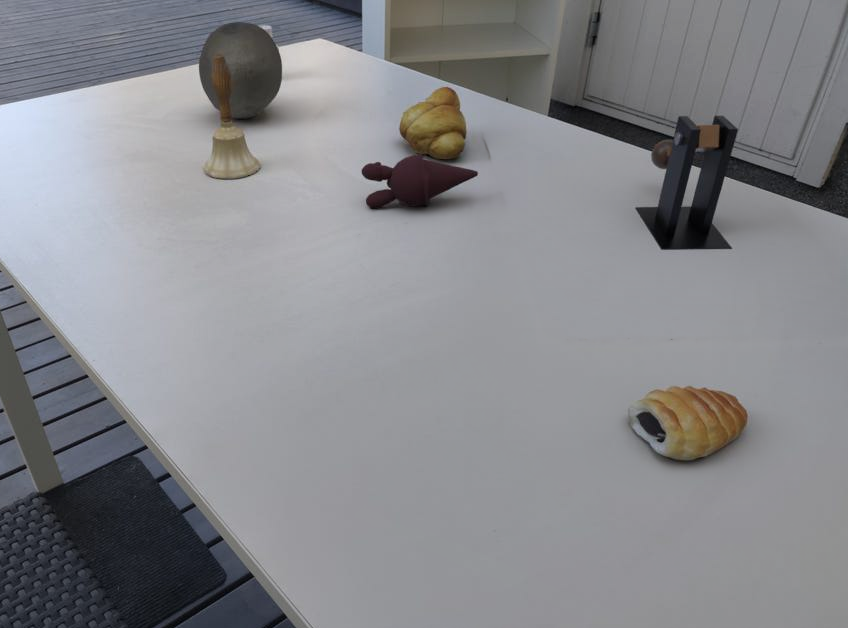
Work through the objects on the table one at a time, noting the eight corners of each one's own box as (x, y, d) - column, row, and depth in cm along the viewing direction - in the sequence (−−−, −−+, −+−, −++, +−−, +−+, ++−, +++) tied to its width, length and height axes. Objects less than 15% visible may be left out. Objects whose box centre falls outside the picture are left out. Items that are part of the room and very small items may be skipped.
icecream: (471, 142, 98) (359, 156, 99) (481, 148, 92) (360, 164, 92) (474, 194, 101) (365, 208, 101) (484, 204, 94) (367, 219, 95)
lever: (646, 171, 96) (647, 142, 95) (674, 170, 96) (675, 142, 95) (692, 153, 82) (693, 119, 81) (725, 152, 81) (726, 118, 81)
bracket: (633, 215, 94) (656, 106, 86) (696, 214, 94) (726, 105, 86) (659, 258, 86) (687, 141, 77) (729, 257, 85) (765, 140, 77)
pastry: (708, 394, 66) (720, 360, 64) (764, 444, 61) (779, 409, 58) (618, 420, 63) (626, 385, 61) (669, 473, 58) (680, 438, 56)
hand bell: (251, 153, 114) (238, 44, 104) (267, 173, 108) (255, 58, 98) (198, 163, 111) (179, 51, 102) (211, 183, 105) (193, 67, 96)
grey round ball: (189, 126, 124) (173, 31, 115) (232, 100, 135) (221, 11, 126) (263, 136, 120) (252, 38, 111) (302, 109, 130) (295, 17, 121)
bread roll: (476, 162, 109) (480, 108, 104) (411, 168, 108) (412, 113, 103) (453, 132, 119) (455, 81, 115) (394, 137, 118) (394, 86, 113)
